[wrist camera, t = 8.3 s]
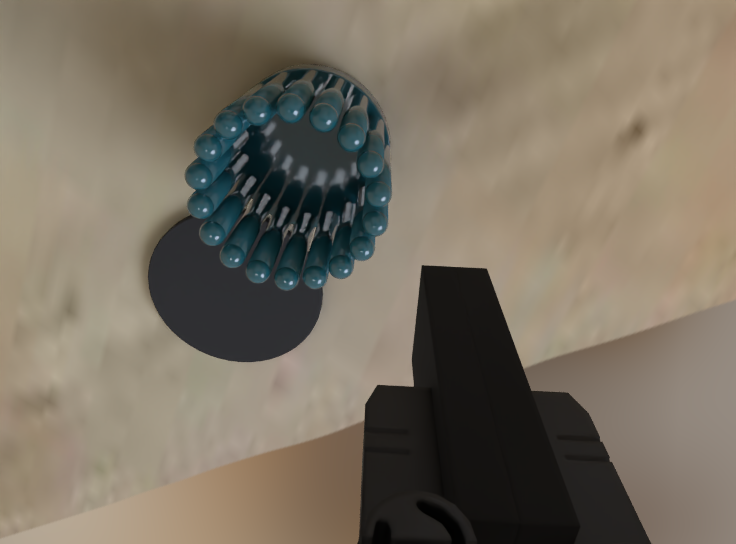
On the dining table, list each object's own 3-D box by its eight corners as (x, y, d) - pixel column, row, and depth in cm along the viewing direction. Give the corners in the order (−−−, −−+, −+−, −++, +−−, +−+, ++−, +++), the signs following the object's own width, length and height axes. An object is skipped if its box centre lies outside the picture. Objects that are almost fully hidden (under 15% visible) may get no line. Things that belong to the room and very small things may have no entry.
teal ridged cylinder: (394, 212, 31) (252, 221, 31) (385, 57, 27) (222, 70, 27) (397, 290, 23) (206, 300, 23) (384, 86, 19) (155, 104, 19)
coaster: (139, 202, 31) (135, 205, 30) (324, 214, 31) (323, 218, 30) (163, 351, 36) (159, 356, 35) (321, 362, 36) (320, 367, 35)
